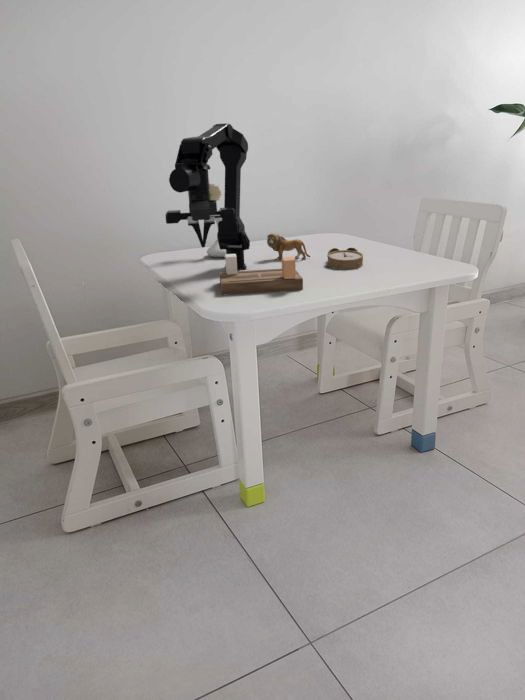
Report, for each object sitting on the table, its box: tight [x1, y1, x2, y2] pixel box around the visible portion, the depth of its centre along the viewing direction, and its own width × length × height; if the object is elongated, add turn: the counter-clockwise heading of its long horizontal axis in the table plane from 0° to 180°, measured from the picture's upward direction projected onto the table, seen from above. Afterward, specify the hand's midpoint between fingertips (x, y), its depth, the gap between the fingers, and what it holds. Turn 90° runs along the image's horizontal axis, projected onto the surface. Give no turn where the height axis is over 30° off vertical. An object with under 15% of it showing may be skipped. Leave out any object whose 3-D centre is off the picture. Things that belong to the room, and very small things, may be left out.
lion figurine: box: [266, 232, 311, 261], centre depth 172 cm, size 15×5×9 cm, turn 90°
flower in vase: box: [206, 182, 226, 258], centre depth 177 cm, size 13×11×25 cm
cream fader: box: [224, 254, 238, 275], centre depth 144 cm, size 4×3×5 cm
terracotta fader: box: [281, 256, 296, 279], centre depth 137 cm, size 4×3×5 cm
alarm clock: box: [327, 247, 364, 270], centre depth 164 cm, size 11×5×15 cm
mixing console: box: [218, 268, 304, 296], centre depth 142 cm, size 13×22×3 cm, turn 97°
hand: (203, 247), depth 141 cm, fingers closed
